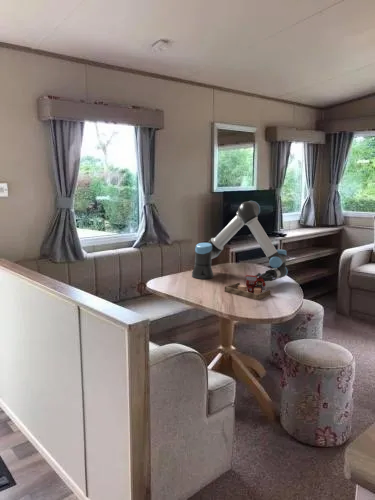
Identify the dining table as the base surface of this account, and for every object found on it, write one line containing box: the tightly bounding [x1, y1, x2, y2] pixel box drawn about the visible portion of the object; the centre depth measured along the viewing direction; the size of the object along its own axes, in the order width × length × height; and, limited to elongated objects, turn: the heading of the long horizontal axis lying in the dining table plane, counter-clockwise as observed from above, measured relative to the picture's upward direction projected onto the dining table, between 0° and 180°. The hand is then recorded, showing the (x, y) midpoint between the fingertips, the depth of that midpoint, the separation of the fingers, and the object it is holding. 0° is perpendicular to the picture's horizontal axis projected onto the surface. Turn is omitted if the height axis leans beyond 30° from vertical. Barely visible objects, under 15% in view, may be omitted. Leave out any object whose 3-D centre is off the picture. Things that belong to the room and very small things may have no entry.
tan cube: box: [253, 288, 261, 294], centre depth 252 cm, size 4×4×4 cm
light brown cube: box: [237, 284, 248, 292], centre depth 257 cm, size 4×4×4 cm
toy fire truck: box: [245, 274, 266, 293], centre depth 256 cm, size 7×12×10 cm, turn 78°
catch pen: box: [224, 282, 272, 301], centre depth 255 cm, size 24×15×3 cm, turn 49°
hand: (253, 280), depth 258 cm, fingers closed
